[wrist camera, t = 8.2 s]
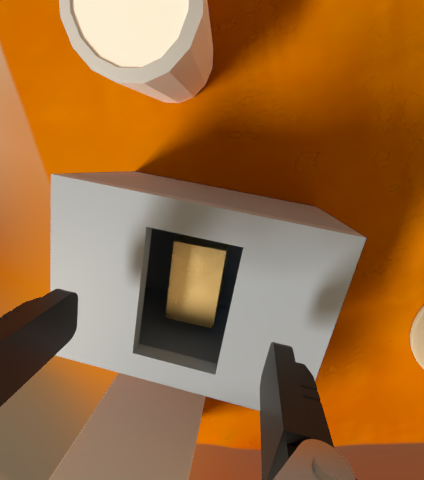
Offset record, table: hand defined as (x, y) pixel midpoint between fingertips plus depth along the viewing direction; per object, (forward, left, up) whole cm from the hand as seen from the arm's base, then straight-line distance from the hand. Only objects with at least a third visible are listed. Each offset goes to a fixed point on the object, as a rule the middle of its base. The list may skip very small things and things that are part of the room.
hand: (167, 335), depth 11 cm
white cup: (+5, -13, -12) cm, 18 cm away
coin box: (0, 0, -11) cm, 11 cm away
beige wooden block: (0, 0, -11) cm, 11 cm away
